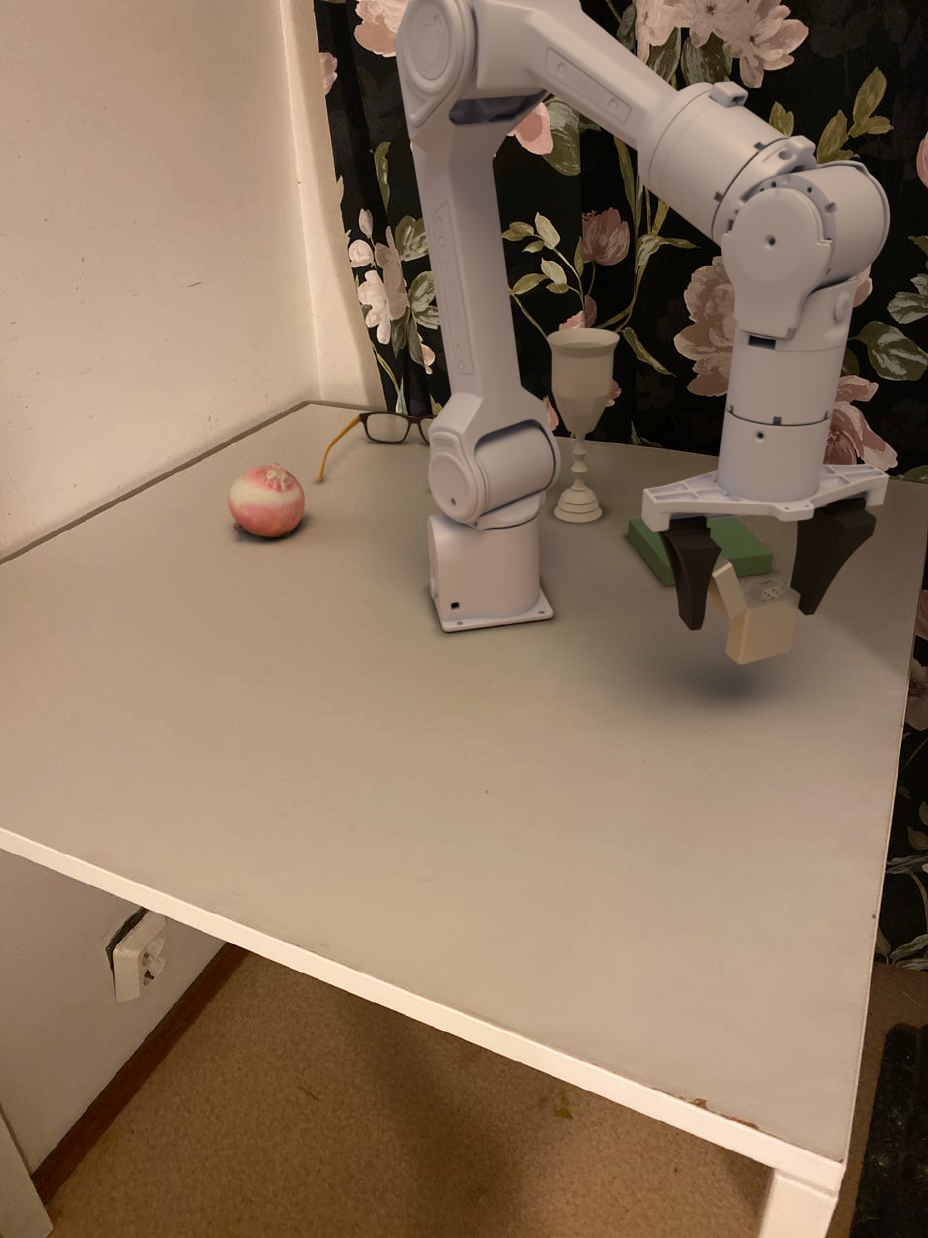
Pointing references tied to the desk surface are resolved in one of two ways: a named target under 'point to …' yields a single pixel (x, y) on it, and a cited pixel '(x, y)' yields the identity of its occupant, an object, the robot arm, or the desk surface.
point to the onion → (267, 501)
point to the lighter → (754, 614)
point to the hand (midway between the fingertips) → (745, 614)
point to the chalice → (581, 404)
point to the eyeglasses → (363, 418)
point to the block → (726, 532)
